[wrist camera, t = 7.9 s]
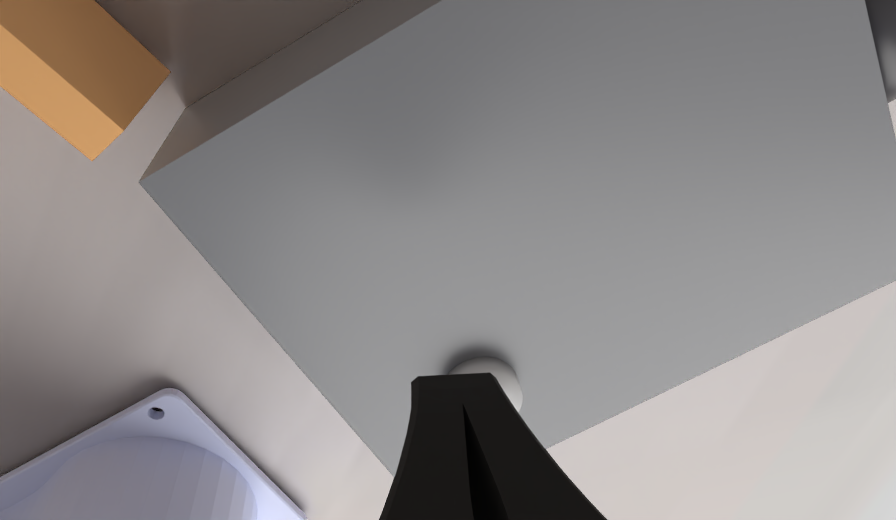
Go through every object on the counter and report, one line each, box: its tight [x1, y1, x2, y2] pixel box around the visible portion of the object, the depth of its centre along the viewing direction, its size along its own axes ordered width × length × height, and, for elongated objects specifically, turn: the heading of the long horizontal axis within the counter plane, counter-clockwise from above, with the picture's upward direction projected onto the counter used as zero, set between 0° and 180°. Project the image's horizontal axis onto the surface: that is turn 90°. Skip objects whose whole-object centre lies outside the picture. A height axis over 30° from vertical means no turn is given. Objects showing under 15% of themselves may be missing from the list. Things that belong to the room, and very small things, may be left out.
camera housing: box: [139, 0, 896, 477], centre depth 19 cm, size 17×12×6 cm
